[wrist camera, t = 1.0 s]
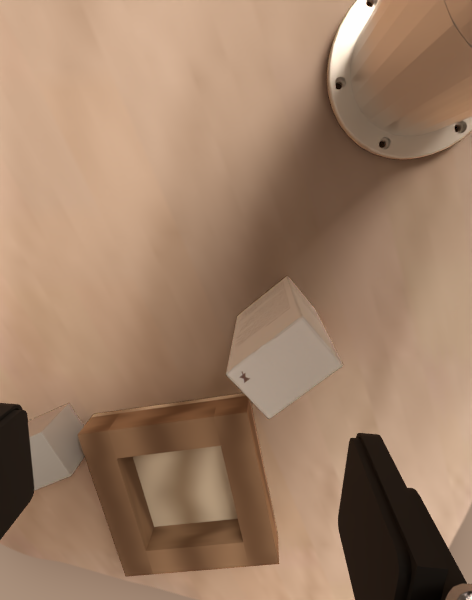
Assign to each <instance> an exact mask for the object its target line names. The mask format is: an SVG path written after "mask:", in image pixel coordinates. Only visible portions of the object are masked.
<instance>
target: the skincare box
mask: <svg viewBox="0 0 472 600" xmlns="http://www.w3.org/2000/svg"><path fill="white" fill-rule="evenodd" d="M342 366H343V363H342V361H341V359H340V357H339V355H338V353H337V351H336V349H335V347H334V345H333V343H332V341H331V339H330V337H329V335H328V333H327V331H326V329H325V327H324V325H323V323H322V321H321V319H320V317H319V315H318V313H317V311H316V309H315V308H314V307H313V306H312V305H311V303H310V302H309V301H308V300H307V298H306V297H305V296H304V295H303V294H302V292H301V291H300V290H299V289H298V287H297V286H296V285H295V284H294V282H293V281H292V280H291V279H290V278H289V277H288V276H286V277H285V278H284V279H282V280H281V281H280V282H279V283H277V284H276V285H275V286H274V287H272V288H271V289H270V290H269V291H267V292H266V293H265V294H264V295H262V296H261V297H260V298H259V299H258V300H256V301H255V302H254V303H253V304H251V305H250V306H249V307H248V308H246V309H245V310H244V311H243V312H242V313H240V314H239V315H238V316H237V320H236V325H235V330H234V335H233V340H232V346H231V351H230V356H229V361H228V366H227V371H226V376H227V377H228V378H229V379H230V380H231V381H232V382H233V383H234V384H235V385H236V386H237V387H238V388H239V389H240V390H241V391H242V392H243V393H244V394H245V395H246V396H247V397H248V398H249V399H250V400H251V401H252V402H253V403H254V404H255V405H256V407H257V408H258V409H259V410H260V411H261V412H262V413H263V414H264V415H265V416H266V417H267V418H268V419H271V418H272V417H273V416H275V415H276V414H277V413H279V412H280V411H282V410H283V409H284V408H286V407H287V406H289V405H290V404H291V403H293V402H294V401H295V400H297V399H298V398H300V397H301V396H302V395H304V394H305V393H306V392H308V391H309V390H310V389H312V388H313V387H314V386H316V385H317V384H319V383H320V382H321V381H323V380H324V379H325V378H327V377H328V376H330V375H331V374H332V373H334V372H335V371H337V370H338V369H339V368H341V367H342Z"/></svg>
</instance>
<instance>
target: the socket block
mask: <svg viewBox="0 0 472 600" xmlns="http://www.w3.org/2000/svg"><path fill="white" fill-rule="evenodd" d="M78 438H79V441H80V444H81V447H82V450H83V453H84V456H85V458H86V461H87V464H88V467H89V470H90V473H91V476H92V479H93V482H94V485H95V488H96V491H97V494H98V497H99V500H100V502H101V505H102V508H103V511H104V514H105V517H106V520H107V523H108V526H109V529H110V532H111V535H112V538H113V541H114V544H115V546H116V549H117V552H118V555H119V558H120V561H121V564H122V567H123V570H124V573H125V576H137V575H149V574H161V573H173V572H186V571H198V570H210V569H222V568H234V567H246V566H259V565H271V564H279V552H278V532H277V527H276V522H275V517H274V513H273V508H272V503H271V498H270V493H269V488H268V483H267V479H266V474H265V469H264V464H263V459H262V454H261V449H260V445H259V440H258V435H257V430H256V425H255V420H254V415H253V411H252V406H251V401H250V399H249V398H248V397H247V396H246V395H245V394H244V393H240V394H233V395H226V396H219V397H212V398H205V399H197V400H190V401H183V402H176V403H169V404H161V405H154V406H147V407H140V408H133V409H125V410H118V411H111V412H104V413H97V414H93V416H92V417H91V418H90V419H89V421H88V422H87V423H86V425H85V426H84V427H83V428H82V430H81V431H80V432H79V433H78Z"/></svg>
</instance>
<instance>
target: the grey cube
mask: <svg viewBox="0 0 472 600" xmlns="http://www.w3.org/2000/svg"><path fill="white" fill-rule="evenodd" d="M83 427H84V425H83V423H82V422H81V420H80V419H79V417H78V416H77V414H76V413H75V411H74V410H73V408H72V406H71V405H70V403H68V404H66V405H63V406H61V407H59V408H57V409H54V410H52V411H50V412H47V413H45V414H43V415H41V416H38V417H36V418H34V419H31V420H30V421H29V422H28V428H29V438H30V448H31V458H32V468H33V478H34V490H37V489H39V488H42V487H45V486H47V485H50V484H52V483H55V482H57V481H60V480H62V479H65V478H67V477H70V476H72V474H73V473H74V471H75V470H76V468H77V467H78V466H79V464H80V463H81V461H82V460H83V458H84V457H85V456H84V453H83V450H82V447H81V444H80V441H79V438H78V433H79V432H80V431H81V430H82V428H83Z"/></svg>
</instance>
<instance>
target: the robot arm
mask: <svg viewBox="0 0 472 600" xmlns="http://www.w3.org/2000/svg"><path fill="white" fill-rule="evenodd" d="M367 2H370V3H371V5H372V7H368V6H367V5H366V3H367ZM337 83H339V84H341V89H336V87H335V84H337ZM327 87H328V95H329V99H330V103H331V107H332V110H333V112H334V114H335V116H336V118H337V121H338V123H339V124H340V126H341V127H342V128H343V130H344V131H345V132H346V134H347V135H348V136H349V137H350V138H351V139H352V140H353V141H354V142H355V143H357V144H358V145H359V146H360V147H362V148H364V149H366V150H367V151H369V152H371V153H373V154H376V155H379V156H382V157H386V158H391V159H402V160H404V159H413V158H420V157H424V156H428V155H432V154H434V153H437V152H439V151H442V150H444V149H447V148H449V147H450V146H452V145H453V144H455V143H457V142H458V141H460V140H462V139H463V138H464V137H465V136H466V135H468V134H469V133H470V132H471V131H472V0H356V1H355V2H354V3H353V5H352V6H351V7H350V8H349V10H348V11H347V13H346V15H345V17H344V19H343V20H342V22H341V24H340V26H339V28H338V30H337V33H336V35H335V37H334V40H333V43H332V47H331V51H330V54H329V58H328V68H327ZM455 126H457V127H458V131H457V132H455V129H454V128H455ZM380 141H382V142H384V147H383V148H381V147H379V143H380ZM33 493H34V478H33V468H32V458H31V448H30V438H29V428H28V418H27V413H26V411H24V410H22V407H21V406H20V405H18V404H6V403H0V539H1V538H2V537H3V536H4V534H5V533H6V532H7V530H8V529H9V528H10V527H11V525H12V524H13V523H14V521H15V520H16V519H17V518H18V516H19V515H20V514H21V512H22V511H23V510H24V508H25V507H26V506H27V505H28V503H29V502H30V500H31V498H32V496H33ZM338 527H339V533H340V537H341V542H342V546H343V550H344V554H345V559H346V563H347V567H348V571H349V576H350V580H351V584H352V588H353V592H354V597H355V600H472V584H467V582H466V581H465V579H464V577H463V575H462V573H461V571H460V570H459V568H458V566H457V564H456V562H455V560H454V558H453V557H452V555H451V553H450V551H449V549H448V547H447V545H446V544H445V542H444V540H443V538H442V536H441V534H440V532H439V531H438V529H437V527H436V525H435V523H434V521H433V520H432V518H431V516H430V514H429V512H428V510H427V508H426V507H425V505H424V503H423V501H422V499H421V497H420V495H419V494H418V493H417V491H416V490H415V489H413V488H407V487H406V485H405V483H404V481H403V479H402V477H401V475H400V473H399V471H398V469H397V467H396V465H395V463H394V461H393V459H392V458H391V456H390V454H389V452H388V450H387V448H386V446H385V444H384V442H383V440H382V438H381V436H380V435H377V434H365V433H358V434H357V436H356V438H350V441H349V447H348V454H347V461H346V468H345V474H344V481H343V488H342V495H341V501H340V508H339V515H338Z"/></svg>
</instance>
